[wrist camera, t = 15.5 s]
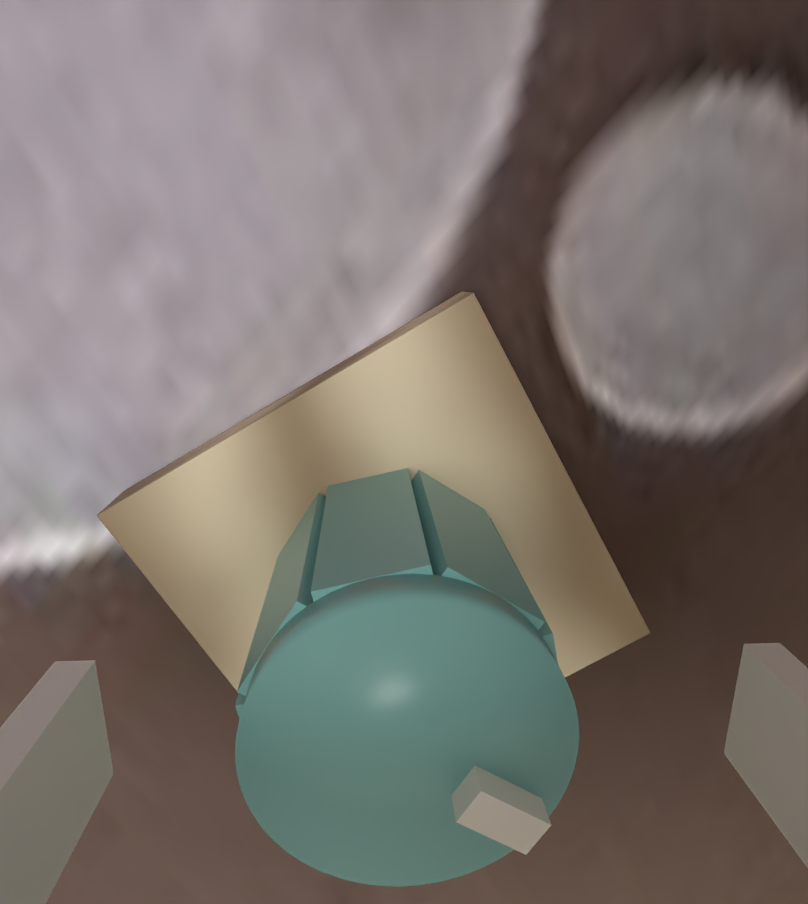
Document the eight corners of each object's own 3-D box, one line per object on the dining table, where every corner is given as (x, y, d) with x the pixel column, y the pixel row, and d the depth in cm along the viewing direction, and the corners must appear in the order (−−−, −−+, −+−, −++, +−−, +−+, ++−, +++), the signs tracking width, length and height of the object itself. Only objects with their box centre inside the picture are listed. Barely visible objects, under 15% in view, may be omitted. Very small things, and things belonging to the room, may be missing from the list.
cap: (243, 610, 18) (161, 838, 11) (356, 432, 17) (353, 552, 9) (422, 701, 19) (459, 959, 12) (540, 543, 18) (662, 723, 11)
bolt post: (461, 291, 18) (529, 300, 11) (624, 600, 21) (760, 768, 14) (123, 491, 19) (-24, 624, 12) (329, 756, 22) (313, 989, 15)
